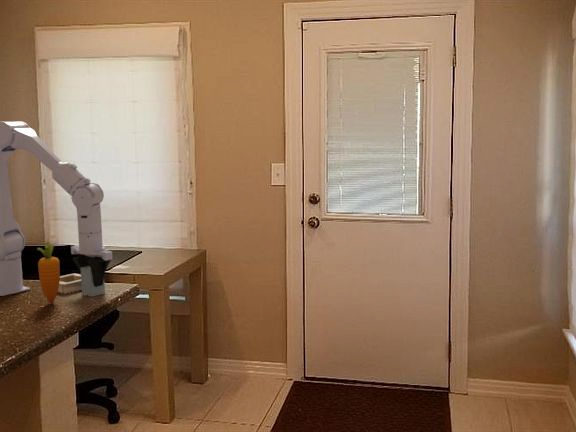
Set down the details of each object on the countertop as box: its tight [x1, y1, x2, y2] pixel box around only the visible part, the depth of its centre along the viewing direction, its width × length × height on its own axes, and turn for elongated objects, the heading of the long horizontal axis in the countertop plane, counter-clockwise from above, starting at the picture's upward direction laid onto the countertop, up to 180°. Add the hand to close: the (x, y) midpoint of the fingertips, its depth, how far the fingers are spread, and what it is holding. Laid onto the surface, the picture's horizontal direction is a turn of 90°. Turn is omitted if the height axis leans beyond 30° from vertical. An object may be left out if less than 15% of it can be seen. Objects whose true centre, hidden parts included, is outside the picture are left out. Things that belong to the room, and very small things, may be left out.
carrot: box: [36, 241, 61, 304], centre depth 156 cm, size 5×5×15 cm
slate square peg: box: [81, 266, 106, 297], centre depth 165 cm, size 4×4×7 cm
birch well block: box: [57, 272, 82, 295], centre depth 172 cm, size 9×9×2 cm
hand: (93, 284), depth 165 cm, fingers closed on slate square peg, 4 cm apart
